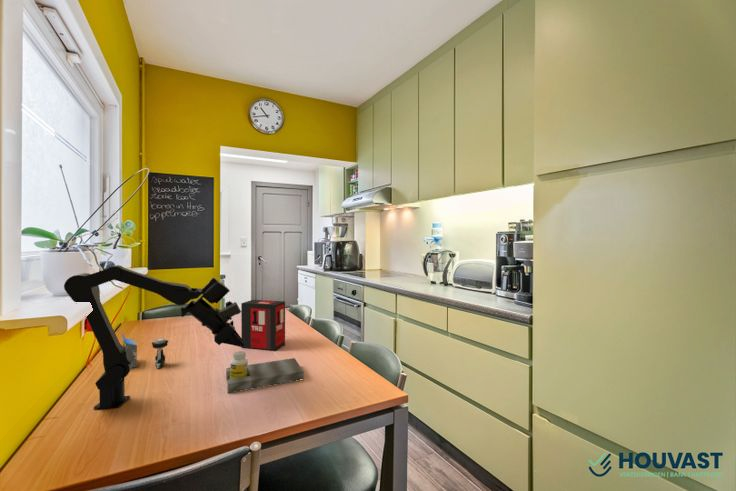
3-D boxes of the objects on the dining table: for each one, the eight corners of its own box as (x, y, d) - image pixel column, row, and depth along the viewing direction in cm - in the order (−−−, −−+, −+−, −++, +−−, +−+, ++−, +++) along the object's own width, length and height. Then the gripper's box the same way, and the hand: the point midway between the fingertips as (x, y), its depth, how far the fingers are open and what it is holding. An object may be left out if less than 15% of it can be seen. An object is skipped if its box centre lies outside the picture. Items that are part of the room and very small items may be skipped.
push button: (165, 368, 124) (165, 341, 124) (149, 370, 123) (148, 343, 122) (169, 362, 131) (169, 336, 130) (153, 364, 129) (153, 338, 129)
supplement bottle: (226, 384, 110) (227, 354, 111) (234, 378, 116) (235, 350, 116) (242, 385, 110) (243, 355, 110) (249, 379, 115) (250, 350, 115)
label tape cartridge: (137, 367, 126) (137, 334, 126) (124, 369, 123) (124, 336, 123) (134, 360, 133) (134, 329, 132) (122, 362, 130) (121, 331, 130)
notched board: (227, 393, 105) (227, 383, 105) (226, 376, 117) (226, 368, 117) (303, 379, 115) (303, 371, 115) (294, 365, 127) (294, 358, 127)
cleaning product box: (241, 348, 148) (241, 303, 148) (253, 342, 157) (253, 299, 156) (275, 351, 144) (275, 305, 144) (285, 345, 153) (285, 301, 152)
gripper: (226, 300, 102) (263, 332, 107) (224, 291, 119) (256, 319, 124) (197, 328, 99) (237, 360, 103) (199, 315, 115) (234, 343, 120)
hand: (242, 343), depth 113 cm, fingers open, 5 cm apart
